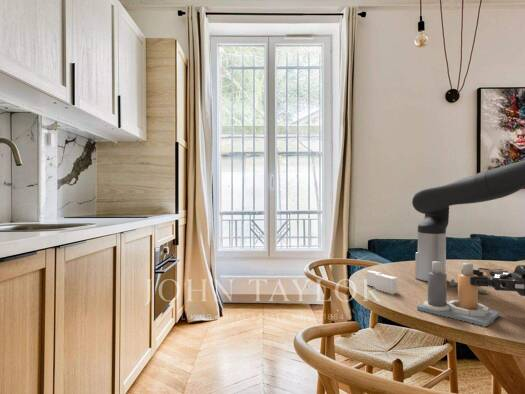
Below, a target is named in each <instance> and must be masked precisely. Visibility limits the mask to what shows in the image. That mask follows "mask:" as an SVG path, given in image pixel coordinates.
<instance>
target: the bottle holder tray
mask: <svg viewBox="0 0 525 394" xmlns="http://www.w3.org/2000/svg"><path fill="white" fill-rule="evenodd" d="M447 277H448V276H447V273H442V262H439V261H432V272H428V281H427V300H425V301H423V302H422V303H420V304H419V305H417V306H416V307H417V308H416V310H417V311H421V312H424V311H425V313H428V312H429V313H428V314H432V313H433V315H436V314H437V315H436V316H440V315H441V316H440V317H444V316H445V318H448V317H450V318H449V319H452V318H454V319H453V320H456V319H458V320H457V321H460V320H462V321H461V322H464V321H467V322H466V323H468V322H471V323H470V324H472V323H476V324H479V325H478V326H480V325H484V326H488V325H489V324H490V323H491V322H492V321H493V322H495V321H496V320H497V319H498V318H499V317H500V316H501V312H500V311H496V310H492V309H490V307H488V306H486V305H484V304H482V303H480V302H478V310H468V309H463V308H459V307H458V299H457V300H456V299H454V300H453V299H451V300H447V299H448V298H447V289H448V288H447V283H448V282H447V279H448V278H447ZM498 316H499V317H498ZM497 317H498V318H497ZM496 318H497V319H496ZM495 319H496V320H495ZM494 320H495V321H494ZM493 322H492V323H493ZM492 323H491V324H492ZM476 324H475V325H476ZM491 324H490V325H491ZM490 325H489V326H490ZM484 326H483V327H484ZM489 326H488V327H489Z"/></svg>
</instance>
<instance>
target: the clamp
mask: <svg viewBox="0 0 525 394" xmlns="http://www.w3.org/2000/svg"><path fill="white" fill-rule="evenodd" d="M449 285H450V286H451V287H453V288H454V287H455V286H458V282H456V281H455V279H454V278H452V279H451V280H450V281H449ZM481 287H482V286H478V294H484V295H485V294H486V295H487V289H483V288H481Z"/></svg>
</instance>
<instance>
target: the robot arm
mask: <svg viewBox="0 0 525 394" xmlns="http://www.w3.org/2000/svg"><path fill="white" fill-rule="evenodd" d="M524 188H525V159H524V160H520V161H516V162H513V163H512V162H511V163H509V164H504V165H502V166H498V167H494V168H491V169H487V170H485V171H480V172H478V173H475V174H472V175H469V176H467V177H464V178H460V179H457V180H454V181H453V182H450V183H447V184H444V185H443V184H442V185H438V186H434V187H429V188H423V189H420V190H417V192H416V193H414V195H413V197H412V201H411V202H412V203H411V204H412V207H413V208H414V210H415V211H417V212H418V213H420V214H423V215H424V218H423V220H422V221H421V222H420V223H419V224H418V225H417V252H415V256H414V257H415V271H414V272H415V277H414V278H415V279H418V280H421V281H425V282H428V272H432V261H439V262H442V273H446V272H447V228H448V225H449V222H450V221H449V218H450V216H449V215H450V207H451V206H455V205H468V204H469V205H470V204H478V203H484V202H489V201H492V200H497V199H502V198H505V197H508V196H511V195H512V194H515V193H517V192H519V191H520V190H523V189H524ZM484 273H486V275H485V274H484ZM446 274H447V273H446ZM473 275H477V276H471V277H470V284H471V285H473V286H481V287H486V288H490V289H494V290H495V291H504V292H517V294H518V295H520V297H521V296H522V297H525V264H519V265H517V266H515V267H514V271H513V272H509V271H508V270H505V269H503V268H498V269H497V268H488V267H487V268H485V267H477V269H473Z"/></svg>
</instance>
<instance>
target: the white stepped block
mask: <svg viewBox="0 0 525 394" xmlns="http://www.w3.org/2000/svg"><path fill="white" fill-rule="evenodd" d="M367 285H370V286H373V287H372V288H374V287H375V288H376V289H378V290H377V291H380V290H381V291H380V292H383V291H384V293H386V292H388V293H387V294H390V293H391V294H390V295H396V294H398V277H395V276H391V275H387V274H383V273H382V272H379V271H376V270H372V269H371V270H366V286H367ZM370 286H369V287H370ZM375 288H374V289H375ZM376 289H375V290H376ZM395 293H396V294H395Z"/></svg>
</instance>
